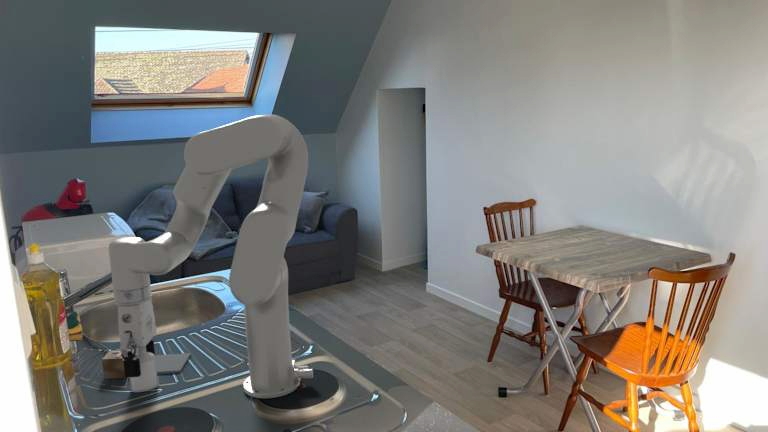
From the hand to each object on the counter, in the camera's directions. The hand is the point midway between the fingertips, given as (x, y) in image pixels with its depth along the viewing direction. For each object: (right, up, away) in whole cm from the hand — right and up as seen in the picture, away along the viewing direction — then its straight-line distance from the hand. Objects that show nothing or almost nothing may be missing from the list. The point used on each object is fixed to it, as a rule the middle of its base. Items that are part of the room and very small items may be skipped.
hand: (140, 366), depth 131 cm
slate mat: (+1, -3, +13) cm, 13 cm away
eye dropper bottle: (+1, -5, +1) cm, 6 cm away
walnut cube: (-9, -4, +9) cm, 14 cm away
